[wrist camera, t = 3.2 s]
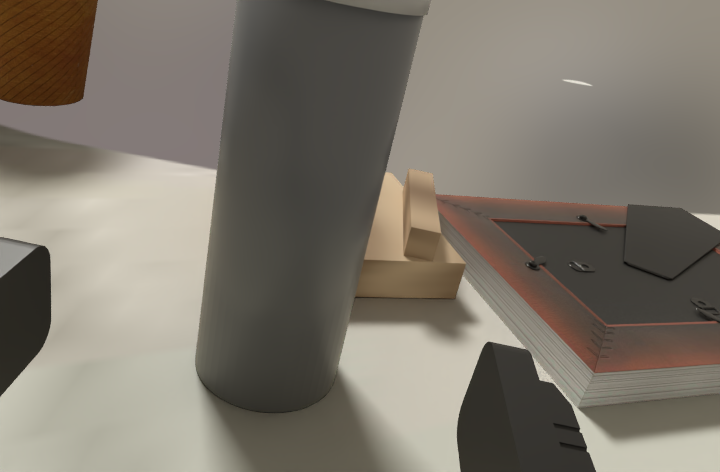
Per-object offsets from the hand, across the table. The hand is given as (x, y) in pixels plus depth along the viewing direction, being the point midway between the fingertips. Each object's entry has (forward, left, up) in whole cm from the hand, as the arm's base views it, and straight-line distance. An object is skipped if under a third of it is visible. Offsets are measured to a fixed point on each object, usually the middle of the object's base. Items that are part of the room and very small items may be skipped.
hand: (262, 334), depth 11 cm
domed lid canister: (+3, +9, -8) cm, 12 cm away
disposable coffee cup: (-9, +39, -8) cm, 41 cm away
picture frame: (+25, +14, -9) cm, 30 cm away
